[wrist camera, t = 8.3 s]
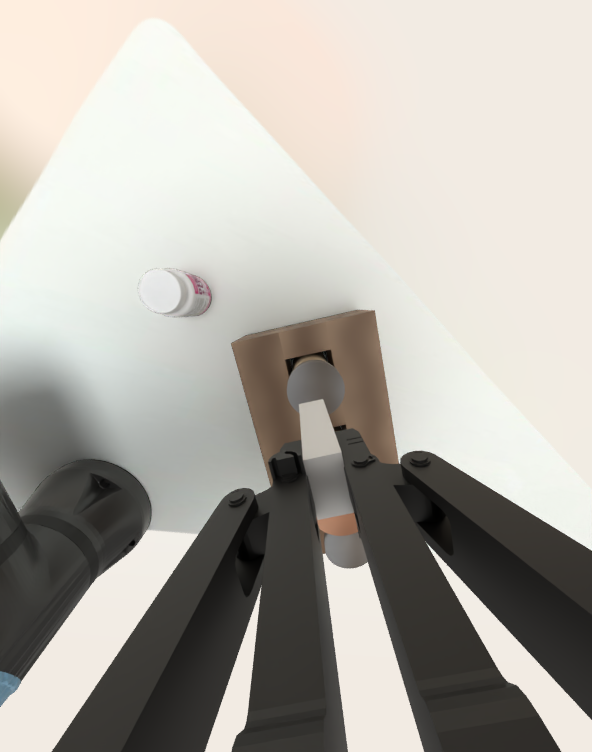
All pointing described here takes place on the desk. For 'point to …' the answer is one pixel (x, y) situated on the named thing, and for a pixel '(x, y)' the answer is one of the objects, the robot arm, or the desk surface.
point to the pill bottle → (174, 293)
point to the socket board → (344, 351)
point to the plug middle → (339, 520)
